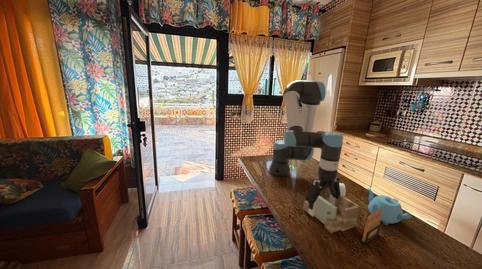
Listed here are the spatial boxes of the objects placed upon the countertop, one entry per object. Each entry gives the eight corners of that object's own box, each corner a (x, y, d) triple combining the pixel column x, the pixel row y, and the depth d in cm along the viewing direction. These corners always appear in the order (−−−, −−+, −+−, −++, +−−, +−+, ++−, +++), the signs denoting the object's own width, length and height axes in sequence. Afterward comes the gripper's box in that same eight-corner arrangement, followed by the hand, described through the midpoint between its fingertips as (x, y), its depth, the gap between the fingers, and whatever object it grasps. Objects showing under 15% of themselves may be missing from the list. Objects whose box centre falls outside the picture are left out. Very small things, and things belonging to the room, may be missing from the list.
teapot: (365, 221, 88) (370, 199, 85) (363, 206, 100) (367, 186, 97) (407, 233, 81) (414, 210, 78) (399, 216, 93) (405, 195, 90)
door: (306, 210, 94) (309, 192, 91) (311, 209, 95) (313, 191, 93) (328, 229, 82) (331, 209, 79) (333, 227, 83) (337, 207, 80)
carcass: (302, 208, 96) (304, 190, 93) (323, 202, 101) (325, 185, 99) (332, 234, 79) (336, 213, 76) (356, 226, 84) (360, 206, 82)
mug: (344, 200, 104) (346, 187, 102) (325, 198, 106) (327, 185, 104) (338, 190, 116) (340, 178, 114) (320, 187, 117) (322, 175, 116)
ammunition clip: (365, 243, 75) (371, 217, 72) (360, 240, 76) (366, 214, 73) (378, 234, 80) (384, 209, 77) (373, 231, 82) (379, 206, 79)
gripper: (313, 175, 74) (306, 223, 79) (354, 168, 84) (346, 211, 89) (300, 167, 81) (295, 212, 86) (340, 161, 90) (333, 202, 95)
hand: (321, 211), depth 87 cm, fingers open, 11 cm apart
